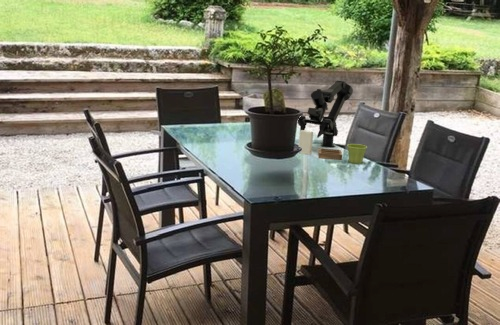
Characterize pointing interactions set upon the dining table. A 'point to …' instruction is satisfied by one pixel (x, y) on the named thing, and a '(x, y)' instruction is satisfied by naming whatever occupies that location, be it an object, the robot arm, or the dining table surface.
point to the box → (330, 154)
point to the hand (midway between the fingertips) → (309, 135)
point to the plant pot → (356, 153)
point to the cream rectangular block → (306, 141)
